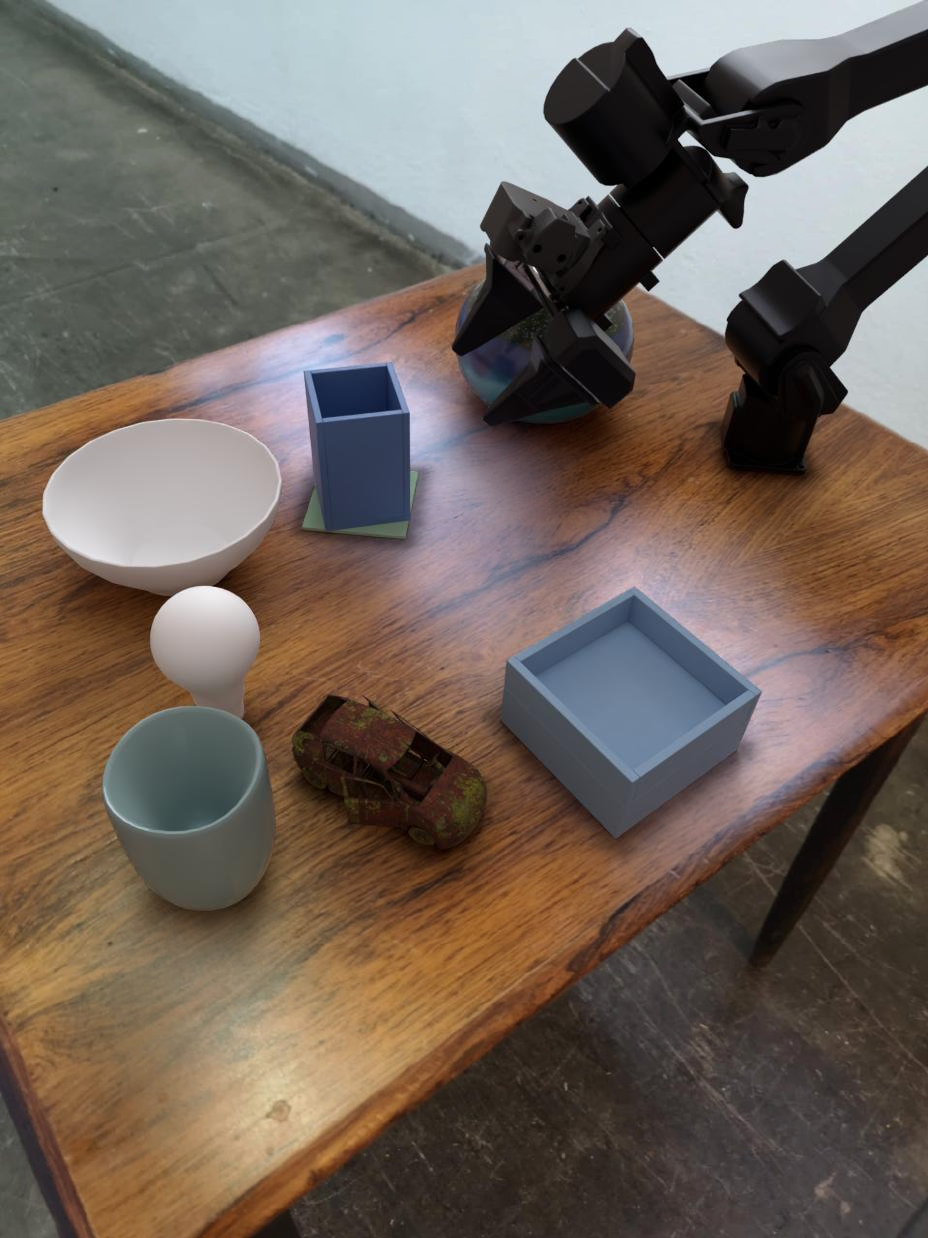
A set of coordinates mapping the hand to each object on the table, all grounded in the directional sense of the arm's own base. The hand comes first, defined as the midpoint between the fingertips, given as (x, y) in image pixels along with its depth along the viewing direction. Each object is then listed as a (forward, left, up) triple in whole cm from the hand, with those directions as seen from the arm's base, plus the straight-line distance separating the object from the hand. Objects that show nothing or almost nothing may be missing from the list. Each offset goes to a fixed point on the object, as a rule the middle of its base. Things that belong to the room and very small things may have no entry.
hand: (469, 385), depth 70 cm
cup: (+11, +35, -10) cm, 38 cm away
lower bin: (-12, +23, -10) cm, 28 cm away
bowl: (+20, +11, -10) cm, 25 cm away
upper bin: (+8, +2, -10) cm, 13 cm away
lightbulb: (+13, +25, -10) cm, 30 cm away
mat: (+8, +2, -10) cm, 13 cm away
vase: (-5, -14, -10) cm, 18 cm away
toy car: (+2, +29, -10) cm, 31 cm away
